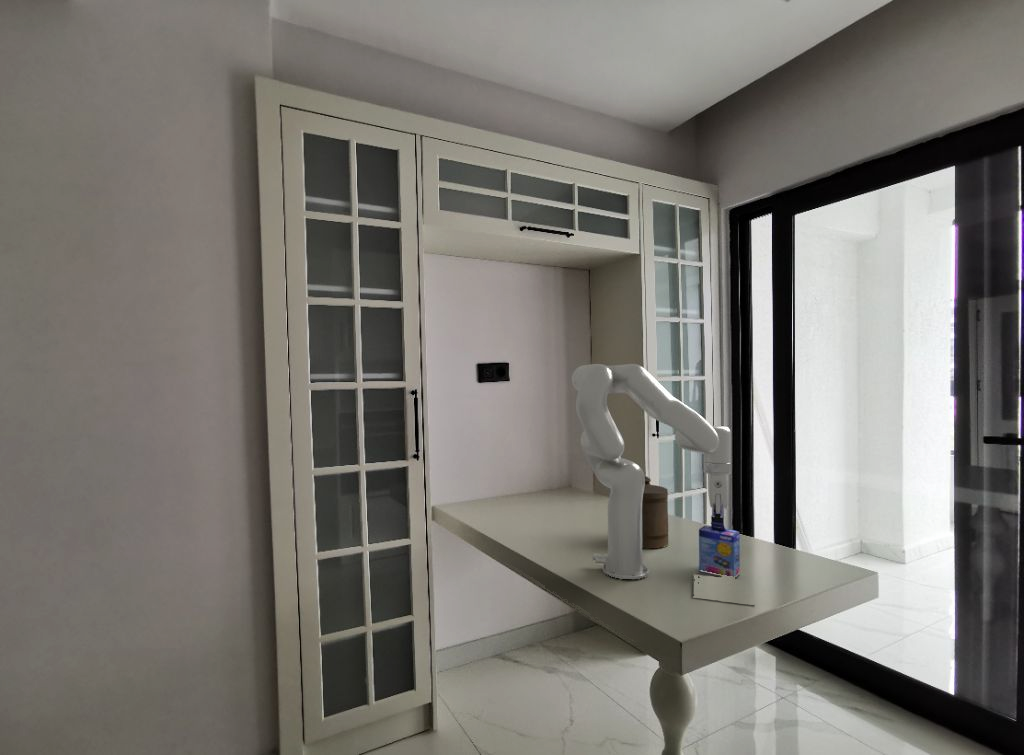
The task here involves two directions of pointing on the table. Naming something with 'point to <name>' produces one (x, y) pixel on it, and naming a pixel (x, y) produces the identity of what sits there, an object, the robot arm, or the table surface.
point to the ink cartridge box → (719, 550)
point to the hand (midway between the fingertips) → (717, 530)
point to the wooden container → (654, 516)
